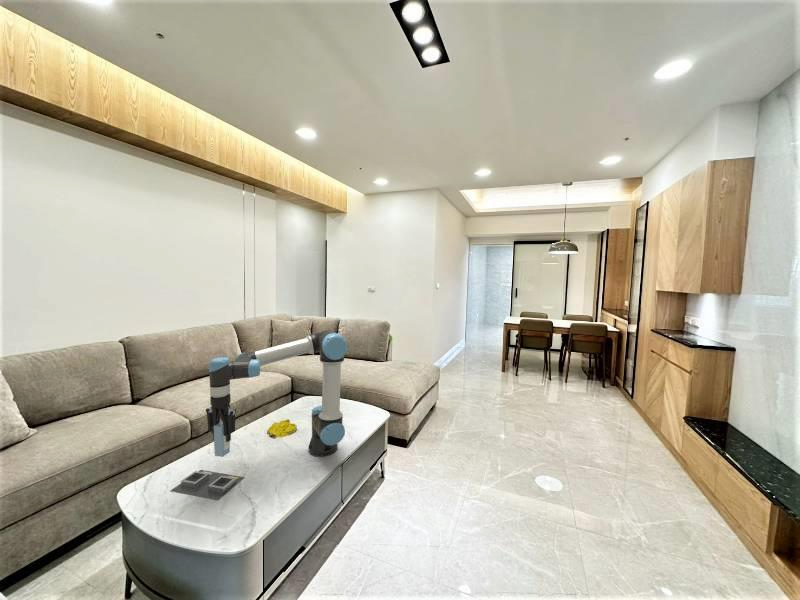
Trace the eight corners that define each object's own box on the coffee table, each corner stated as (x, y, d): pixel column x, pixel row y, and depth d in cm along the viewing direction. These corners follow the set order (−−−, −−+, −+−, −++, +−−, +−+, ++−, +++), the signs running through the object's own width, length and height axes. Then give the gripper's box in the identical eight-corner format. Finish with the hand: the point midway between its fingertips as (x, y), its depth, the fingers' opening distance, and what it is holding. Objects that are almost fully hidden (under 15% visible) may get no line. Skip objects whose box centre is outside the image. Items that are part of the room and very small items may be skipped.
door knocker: (300, 432, 194) (300, 425, 194) (272, 440, 184) (272, 433, 184) (290, 422, 207) (290, 416, 207) (263, 429, 197) (263, 422, 197)
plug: (231, 450, 143) (230, 421, 142) (222, 456, 138) (221, 426, 137) (223, 449, 144) (222, 420, 143) (214, 455, 139) (213, 425, 138)
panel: (245, 479, 148) (245, 473, 148) (218, 502, 132) (217, 495, 132) (200, 471, 153) (200, 465, 153) (169, 493, 138) (169, 486, 137)
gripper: (243, 393, 140) (245, 445, 142) (210, 390, 144) (212, 441, 146) (231, 399, 133) (232, 455, 135) (196, 395, 137) (198, 449, 138)
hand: (222, 447), depth 140 cm, fingers closed on plug, 4 cm apart
